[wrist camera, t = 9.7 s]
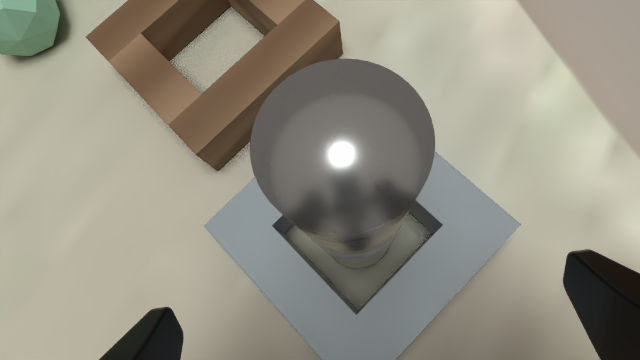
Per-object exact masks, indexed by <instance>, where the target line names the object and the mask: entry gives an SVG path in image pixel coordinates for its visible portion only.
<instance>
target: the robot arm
mask: <svg viewBox="0 0 640 360" xmlns="http://www.w3.org/2000/svg"><path fill="white" fill-rule="evenodd" d="M563 284H564V288H565V291H566V293H567V295H568V297H569V299H570V301H571V303H572V305H573V307H574V309H575V311H576V313H577V315H578V317H579V319H580V321H581V323H582V325H583V327H584V329H585V331H586V333H587V335H588V337H589V339H590V340H591V342H592V344H593V346H594V348H595V350H596V352H597V354H598V356H599V357H600V359H601V360H640V273H637V272H635V271H633V270H631V269H629V268H627V267H625V266H623V265H621V264H619V263H617V262H615V261H613V260H611V259H609V258H607V257H605V256H603V255H601V254H599V253H597V252H595V251H592V250H587V249H586V250H579V251H572V252H570V253H569V254H568V255H567V259H566V265H565V271H564V277H563ZM182 345H183V331H182V328H181V326H180V324H179V322H178V320H177V318H176V316H175V314H174V312H173V311H172V309H171V308H169V307H162V308H155V309H152V310H150V311H149V312H148V313H147V314H146V315H145V316H144V317H143V318H142V319H141V320H140V321H139V322H138V323H137V324H136V325H134V326H133V327H132V328H131V329H130V330H129V331H128V332H127V333H126V334H125V335H124V336H123V337H122V338H121V339H120V340H119V341H118V342H117V343H116V344H115V345H114V346H113V347H112V348H111V349H110V350H109V351H107V352H106V353H105V354H104V355H103V356H102V357H101V358H100V359H99V360H180V359H181V352H182Z"/></svg>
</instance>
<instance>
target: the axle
mask: <svg viewBox="0 0 640 360" xmlns="http://www.w3.org/2000/svg"><path fill="white" fill-rule="evenodd" d="M434 153H435V135H434V128H433V124H432V120H431V117H430V114H429V112H428V109H427V107H426V106H425V104H424V102H423V100H422V99H421V97H420V96H419V95H418V93H417V92H416V91H415V89H414V88H413V87H412V86H411V85H410V84H409V83H408V82H407V81H405V80H404V79H403V78H402V77H400V76H399V75H397V74H396V73H394V72H393V71H391V70H389V69H387V68H385V67H383V66H380V65H378V64H375V63H371V62H368V61H363V60H357V59H333V60H327V61H322V62H319V63H315V64H312V65H309V66H307V67H305V68H302V69H300V70H299V71H297V72H295V73H293V74H292V75H290V76H289V77H287V78H286V79H285V80H283V81H282V82H281V83H280V84H279V85H278V86H277V87H276V88H275V89H274V90H273V91H272V92H271V93H270V95H269V96H268V97H267V98H266V100H265V101H264V103H263V104H262V106H261V108H260V110H259V112H258V114H257V116H256V119H255V122H254V125H253V128H252V133H251V139H250V157H251V164H252V168H253V172H254V175H255V178H256V180H257V183H258V185H259V187H260V189H261V190H262V192H263V194H264V195H265V196H266V198H267V199H268V200H269V202H270V203H271V204H272V205H273V206H274V207H275V208H276V209H277V210H278V211H279V212H280V213H281V214H283V215H284V216H285V217H286V218H287V219H288V220H290V221H291V222H292V223H293V224H294V225H296V226H297V227H298V228H299V229H300V230H301V231H303V232H304V233H305V234H306V235H307V236H308V237H310V238H311V239H312V240H313V241H314V242H315V243H317V244H318V245H319V246H320V247H321V248H323V249H324V250H325V251H326V252H327V253H328V254H330V255H331V256H332V257H333V258H334V259H335V260H337V261H338V262H339V263H341V264H343V265H345V266H347V267H351V268H365V267H369V266H371V265H373V264H375V263H377V262H378V261H379V260H380V259H381V258H382V257H383V256H384V255H385V253H386V251H387V250H388V248H389V246H390V244H391V243H392V241H393V239H394V237H395V236H396V234H397V232H398V230H399V229H400V227H401V225H402V223H403V222H404V220H405V218H406V216H407V214H408V213H409V211H410V209H411V207H412V206H413V204H414V202H415V200H416V199H417V197H418V195H419V193H420V192H421V190H422V188H423V186H424V184H425V183H426V181H427V179H428V176H429V173H430V171H431V168H432V164H433V159H434Z"/></svg>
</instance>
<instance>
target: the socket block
mask: <svg viewBox="0 0 640 360" xmlns="http://www.w3.org/2000/svg"><path fill="white" fill-rule="evenodd" d="M409 212H410V213H411V214H412V215H413V216H414V217H415V218H416V219H417V220H418V221H419V222H420V223H421V224H423V225H424V226H425V227H426V228H427V229H428V230H429V231H430V232H431V233H432V234H431V235H430V236H429V237H428V239H427V240H426V241H425V242H424V243H423V244H422V245H421V246H420V247H419V248H418V249H417V250H416V251H415V252H414V253H413V254H412V255H411V256H410V257H409V258H408V259H407V260H406V261H405V262H404V263H403V265H402V266H401V267H400V268H399V269H398V270H397V271H396V272H395V273H394V274H393V275H392V276H391V277H390V278H389V279H388V280H387V281H386V282H385V283H384V284H383V285H382V286H381V287H380V288H379V290H378V291H377V292H376V293H375V294H374V295H373V296H372V297H371V298H370V299H369V300H368V301H367V302H366V303H365V304H364V305H363V306H362V307H361V308H360V309H359V310H357V309H356V308H355V307H354V306H353V305H352V304H351V303H350V302H349V301H348V300H347V299H346V298H345V297H344V296H343V295H342V294H341V293H340V291H339V290H338V289H337V288H336V287H335V286H334V285H333V284H332V283H331V282H330V281H329V280H328V279H327V278H326V277H325V276H324V275H323V274H322V273H321V272H320V270H319V269H318V268H317V267H316V266H315V265H314V264H313V263H312V262H311V261H310V260H309V259H308V258H307V257H306V256H305V255H304V254H303V253H302V252H301V251H300V249H299V248H298V247H297V246H296V245H295V244H294V243H293V242H292V241H291V240H290V239H289V238H288V237H287V236H286V235H285V233H286V232H287V231H288V230H289V229H290V228H291V227H292V226H293V225H294V224H293V223H292V222H291V221H290V220H288V219H287V218H286V217H285V216H284V215H283V214H281V213H280V212H279V211H278V210H277V209H276V208H275V207H274V206H273V205H272V204H271V203H270V202H269V200H268V199H267V198H266V196H265V195H264V194H263V192H262V190H261V189H260V187H259V185H258V183H257V180H256V178H255V177H254V178H253V179H252V180H251V181H250V182H249V183H248V184H247V185H246V186H245V187H244V188H243V189H242V190H241V191H240V192H239V193H238V194H237V195H236V196H235V197H233V198H232V199H231V200H230V201H229V202H228V203H227V204H226V205H225V206H224V207H223V208H222V209H221V210H220V211H219V212H218V213H217V214H216V215H215V216H214V217H213V218H212V219H211V220H209V221H208V222H207V223H206V224H205V225H204V227H205V228H206V229H207V231H208V232H209V233H210V234H211V235H212V236H213V237H214V238H215V240H216V241H217V242H218V243H219V244H220V245H221V246H222V248H223V249H224V250H225V251H226V252H227V253H228V254H229V255H230V257H231V258H232V259H233V260H234V261H235V262H236V263H237V264H238V266H239V267H240V268H241V269H242V270H243V271H244V272H245V274H246V275H247V276H248V277H249V278H250V279H251V280H252V281H253V283H254V284H255V285H256V286H257V287H258V288H259V289H260V291H261V292H262V293H263V294H264V295H265V296H266V297H267V298H268V300H269V301H270V302H271V303H272V304H273V305H274V306H275V307H276V309H277V310H278V311H279V312H280V313H281V314H282V315H283V317H284V318H285V319H286V320H287V321H288V322H289V323H290V324H291V326H292V327H293V328H294V329H295V330H296V331H297V332H298V334H299V335H300V336H301V337H302V338H303V339H304V340H305V341H306V343H307V344H308V345H309V346H310V347H311V348H312V349H313V350H314V352H315V353H316V354H317V355H318V356H319V357H320V358H321V360H395V359H396V358H397V357H398V356H399V355H400V354H401V353H402V352H403V351H404V350H405V349H406V347H407V346H408V345H409V344H410V343H411V342H412V341H413V340H414V339H415V338H416V337H417V336H418V335H419V334H420V332H421V331H422V330H423V329H424V328H425V327H426V326H427V325H428V324H429V323H430V322H431V321H432V320H433V319H434V317H435V316H436V315H437V314H438V313H439V312H440V311H441V310H442V309H443V308H444V307H445V306H446V305H447V303H448V302H449V301H450V300H451V299H452V298H453V297H454V296H455V295H456V294H457V293H458V292H459V291H460V290H461V288H462V287H463V286H464V285H465V284H466V283H467V282H468V281H469V280H470V279H471V278H472V277H473V276H474V275H475V273H476V272H477V271H478V270H479V269H480V268H481V267H482V266H483V265H484V264H485V263H486V262H487V261H488V260H489V258H490V257H491V256H492V255H493V254H494V253H495V252H496V251H497V250H498V249H499V248H500V247H501V246H502V245H503V243H504V242H505V241H506V240H507V239H508V238H509V237H510V236H511V235H512V234H513V233H514V232H515V231H516V229H517V228H518V227H519V226H520V225H521V224H520V223H519V222H518V221H517V220H515V219H514V218H513V217H512V216H511V215H509V214H508V213H507V212H506V211H505V210H504V209H502V208H501V207H500V206H499V205H498V204H497V203H495V202H494V201H493V200H492V199H491V198H489V197H488V196H487V195H486V194H485V193H484V192H482V191H481V190H480V189H479V188H478V187H476V186H475V185H474V184H473V183H472V182H471V181H469V180H468V179H467V178H466V177H465V176H464V175H462V174H461V173H460V172H459V171H458V170H456V169H455V168H454V167H453V166H452V165H451V164H449V163H448V162H447V161H446V160H445V159H443V158H442V157H441V156H440V155H439V154H438V153H436V152H435V153H434V159H433V164H432V168H431V171H430V173H429V176H428V179H427V181H426V183H425V184H424V186H423V188H422V190H421V192H420V193H419V195H418V197H417V199H416V200H415V202H414V204H413V206H412V207H411V209H410V211H409Z"/></svg>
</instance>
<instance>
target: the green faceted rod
mask: <svg viewBox="0 0 640 360" xmlns="http://www.w3.org/2000/svg"><path fill="white" fill-rule="evenodd" d="M59 17H60V12H59V9H58V6H57V4H56V1H55V0H0V54H6V55H23V56H32V55H34V54H37V53H39V52H41V51H43V50H45V49H47V48H49V47H51V46H53V44H54V41H55V37H56V34H57V29H58V23H59Z"/></svg>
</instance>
